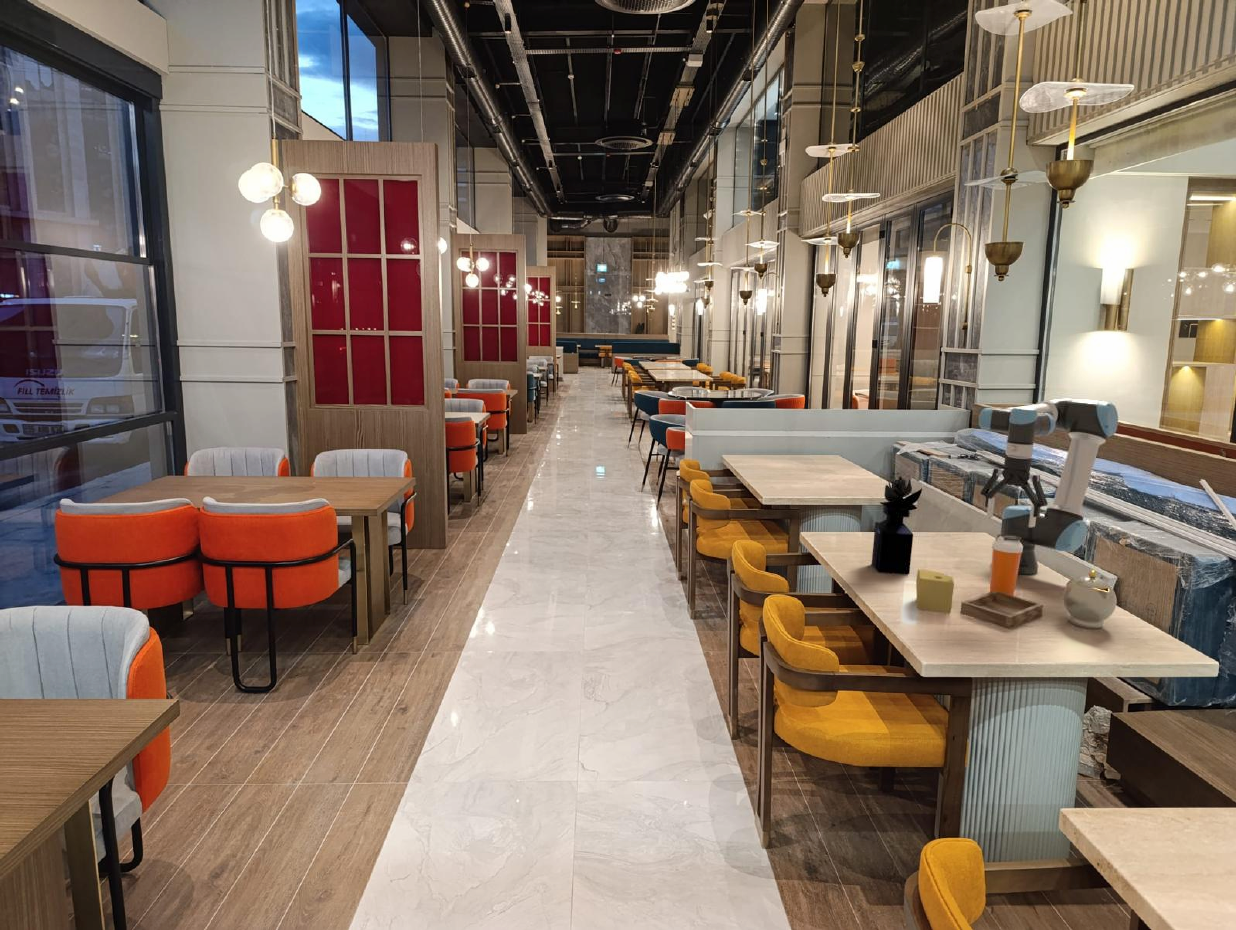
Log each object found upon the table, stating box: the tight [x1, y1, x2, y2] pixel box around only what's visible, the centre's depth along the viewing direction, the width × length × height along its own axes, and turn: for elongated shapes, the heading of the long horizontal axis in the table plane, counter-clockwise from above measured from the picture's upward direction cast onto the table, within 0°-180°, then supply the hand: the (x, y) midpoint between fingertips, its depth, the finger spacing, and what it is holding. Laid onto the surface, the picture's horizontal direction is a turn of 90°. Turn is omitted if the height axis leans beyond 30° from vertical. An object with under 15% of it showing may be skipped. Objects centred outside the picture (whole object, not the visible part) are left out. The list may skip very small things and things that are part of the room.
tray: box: [959, 591, 1044, 630], centre depth 241 cm, size 20×15×4 cm
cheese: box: [915, 568, 955, 614], centre depth 246 cm, size 10×11×10 cm
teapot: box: [1062, 570, 1117, 630], centre depth 236 cm, size 18×14×16 cm
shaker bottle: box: [989, 533, 1023, 596], centre depth 257 cm, size 9×9×20 cm
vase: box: [871, 472, 923, 575], centre depth 282 cm, size 14×12×35 cm
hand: (1010, 522), depth 255 cm, fingers open, 13 cm apart
